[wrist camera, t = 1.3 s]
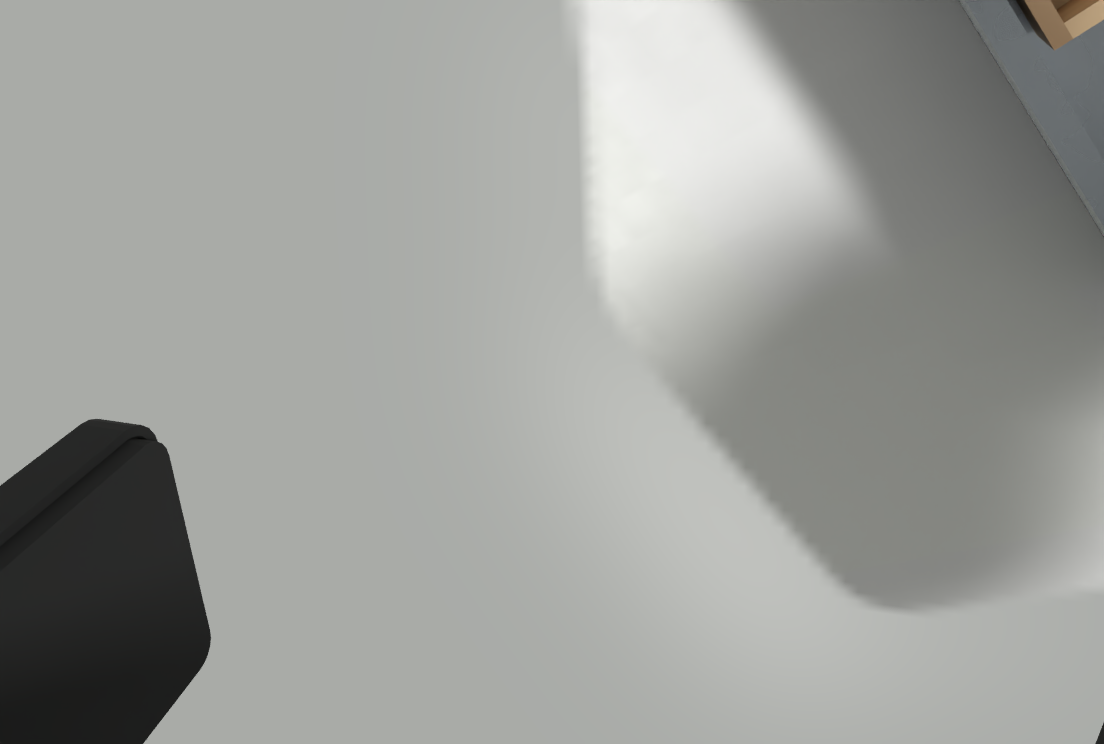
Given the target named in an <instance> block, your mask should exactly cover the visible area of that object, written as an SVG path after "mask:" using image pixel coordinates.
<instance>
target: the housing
mask: <svg viewBox="0 0 1104 744" xmlns="http://www.w3.org/2000/svg"><path fill="white" fill-rule="evenodd" d="M959 2H960V4H961V5H962V7H963V8H964V10H965V12H966V13H967V15H968V17H969V18H970V20H971V21H972V23H973V25H974V26H975V28H976V30H977V31H978V33H979V34H980V36H981V38H982V39H983V41H984V43H985V44H986V46H987V47H988V49H989V51H990V52H991V54H992V56H993V57H994V59H995V60H996V62H997V64H998V65H999V67H1000V69H1001V70H1002V72H1003V73H1004V75H1005V77H1006V78H1007V80H1008V82H1009V83H1010V85H1011V86H1012V88H1013V90H1014V91H1015V93H1016V95H1017V96H1018V98H1019V99H1020V101H1021V103H1022V104H1023V106H1024V108H1025V109H1026V111H1027V112H1028V114H1029V116H1030V117H1031V119H1032V121H1033V122H1034V124H1035V125H1036V127H1037V129H1038V130H1039V132H1040V134H1041V135H1042V137H1043V138H1044V140H1045V142H1046V143H1047V145H1048V147H1049V148H1050V150H1051V151H1052V153H1053V155H1054V156H1055V158H1056V160H1057V161H1058V163H1059V164H1060V166H1061V168H1062V169H1063V171H1064V173H1065V174H1066V176H1067V177H1068V179H1069V181H1070V182H1071V184H1072V186H1073V187H1074V189H1075V190H1076V192H1077V194H1078V195H1079V197H1080V199H1081V200H1082V202H1083V203H1084V205H1085V207H1086V208H1087V210H1088V212H1089V213H1090V215H1091V216H1092V218H1093V220H1094V221H1095V223H1096V225H1097V226H1098V228H1099V229H1100V231H1101V233H1102V234H1103V236H1104V20H1102V21H1101V22H1099V23H1098V24H1096V25H1094V26H1093V27H1091V28H1090V29H1088V30H1087V31H1085V32H1083V33H1082V34H1080V35H1079V36H1077V37H1075V38H1074V39H1072V40H1071V41H1069V42H1067V43H1066V44H1064V45H1063V46H1061V47H1060V48H1058V49H1056V50H1055V51H1054V50H1053V49H1052V48H1051V47H1050V46H1049V45H1047V44H1046V43H1045V42H1044V41H1043V40H1042V39H1041V38H1039V37H1038V36H1037V35H1036V33H1035V32H1034V30H1033V28H1032V27H1031V25H1030V23H1029V22H1028V20H1027V18H1026V17H1025V15H1024V13H1023V12H1022V10H1021V8H1020V7H1019V5H1018V3H1017V2H1016V0H959Z"/></svg>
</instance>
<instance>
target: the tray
mask: <svg viewBox="0 0 1104 744" xmlns="http://www.w3.org/2000/svg"><path fill="white" fill-rule="evenodd" d="M1016 2H1017V3H1018V5H1019V7H1020V8H1021V10H1022V12H1023V13H1024V15H1025V17H1026V18H1027V20H1028V22H1029V23H1030V25H1031V27H1032V28H1033V30H1034V32H1035V33H1036V35H1037V36H1038V37H1039V38H1041V39H1042V40H1043V41H1044V42H1045V43H1046V44H1047V45H1049V46H1050V47H1051V48H1052V49H1053V50H1054V51H1055V50H1056V49H1058V48H1060V47H1061V46H1063V45H1064V44H1066V43H1067V42H1069V41H1071V40H1072V39H1074V38H1075V37H1077V36H1079V35H1080V34H1082V33H1083V32H1085V31H1087V30H1088V29H1090V28H1091V27H1093V26H1094V25H1096V24H1098V23H1099V22H1101V21H1102V20H1104V0H1016Z"/></svg>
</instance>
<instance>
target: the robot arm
mask: <svg viewBox="0 0 1104 744" xmlns="http://www.w3.org/2000/svg"><path fill="white" fill-rule="evenodd" d="M210 640H211V636H210V629H209V624H208V620H207V616H206V612H205V607H204V603H203V599H202V594H201V590H200V586H199V581H198V577H197V573H196V569H195V564H194V560H193V556H192V552H191V548H190V543H189V539H188V534H187V530H186V526H185V521H184V517H183V513H182V509H181V504H180V500H179V496H178V492H177V487H176V483H175V479H174V474H173V470H172V466H171V461H170V457H169V454H168V452H167V449H166V447H165V446H164V445H163V444H162V443H159V442H158V441H157V439H156V436H155V434H154V433H153V432H152V431H151V430H150V429H149V428H147V427H145V426H142V425H136V424H129V423H123V422H115V421H109V420H101V419H92V420H88V421H86V422H84V423H82V424H81V425H79V426H78V427H77V428H75V429H74V430H73V431H71V432H70V433H69V434H67V435H66V436H65V437H64V438H62V439H61V440H60V441H58V442H57V443H56V444H54V445H53V446H52V447H50V448H49V449H48V450H46V451H45V452H44V453H43V454H41V455H40V456H39V457H37V458H36V459H35V460H33V461H32V462H31V463H29V464H28V465H27V466H26V467H24V468H23V469H22V470H20V471H19V472H18V473H16V474H15V475H14V476H12V477H11V478H10V479H8V480H7V481H6V482H5V483H3V484H2V485H1V486H0V744H143V743H144V742H145V740H146V739H147V738H148V736H149V735H150V734H151V733H152V731H153V730H154V729H155V727H156V726H157V725H158V724H159V722H160V721H161V720H162V718H163V717H164V716H165V715H166V713H167V712H168V711H169V709H170V708H171V707H172V705H173V704H174V703H175V702H176V700H177V699H178V697H179V696H180V695H181V694H182V692H183V691H184V690H185V689H186V687H187V686H188V685H189V683H190V682H191V681H192V679H193V678H194V677H195V676H196V674H197V673H198V672H199V670H200V669H201V667H202V666H203V664H204V662H205V660H206V658H207V655H208V652H209V648H210ZM1096 744H1104V723H1103V726H1102V729H1101V731H1100V734H1099V736H1098V739H1097V741H1096Z"/></svg>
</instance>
